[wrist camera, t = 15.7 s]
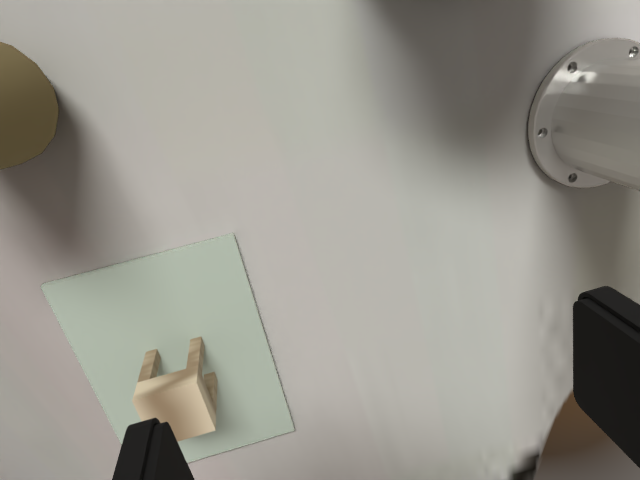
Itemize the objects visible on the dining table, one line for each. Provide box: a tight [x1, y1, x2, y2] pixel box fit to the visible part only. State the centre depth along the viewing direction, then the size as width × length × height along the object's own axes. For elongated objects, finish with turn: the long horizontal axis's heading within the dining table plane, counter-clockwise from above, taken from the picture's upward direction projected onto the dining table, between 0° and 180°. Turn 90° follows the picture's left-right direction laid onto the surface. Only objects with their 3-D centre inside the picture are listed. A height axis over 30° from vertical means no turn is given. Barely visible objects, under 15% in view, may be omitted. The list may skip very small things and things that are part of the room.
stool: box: [132, 337, 218, 442], centre depth 40 cm, size 5×5×6 cm
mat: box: [41, 233, 295, 463], centre depth 44 cm, size 16×22×1 cm
